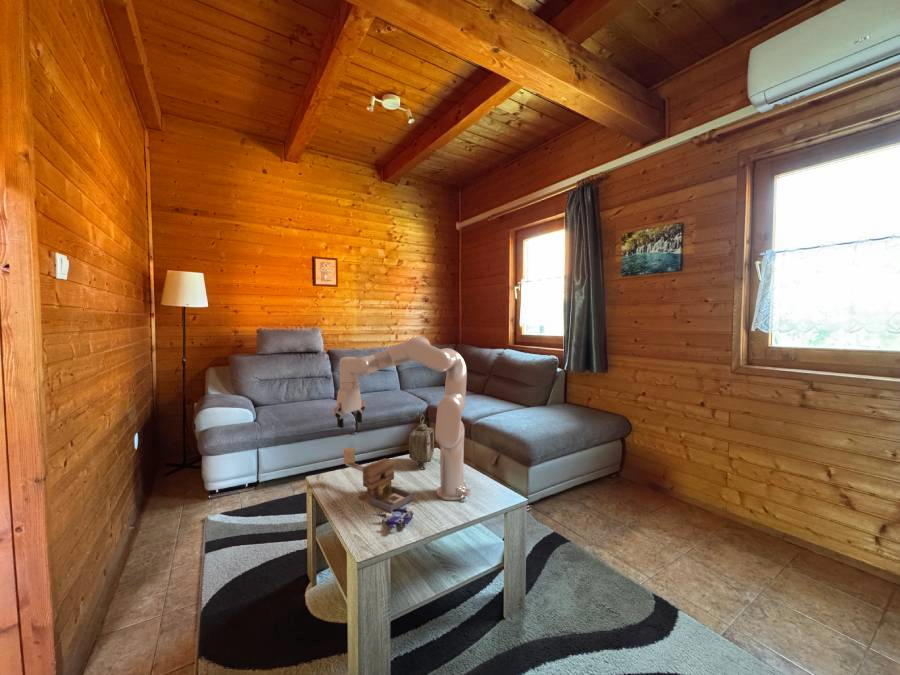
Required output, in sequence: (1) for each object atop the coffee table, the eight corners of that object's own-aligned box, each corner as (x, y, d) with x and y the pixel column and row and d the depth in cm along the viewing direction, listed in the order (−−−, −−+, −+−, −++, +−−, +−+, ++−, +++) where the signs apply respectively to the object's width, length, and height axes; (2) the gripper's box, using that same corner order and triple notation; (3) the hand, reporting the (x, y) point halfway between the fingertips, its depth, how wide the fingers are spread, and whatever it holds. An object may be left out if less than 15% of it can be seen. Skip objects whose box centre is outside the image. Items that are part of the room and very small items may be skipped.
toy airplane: (368, 521, 130) (368, 511, 130) (404, 510, 137) (404, 501, 137) (381, 539, 119) (381, 529, 119) (419, 527, 126) (419, 517, 126)
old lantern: (426, 471, 172) (426, 419, 171) (408, 469, 174) (408, 418, 173) (434, 460, 186) (433, 411, 185) (417, 458, 188) (416, 410, 187)
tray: (413, 500, 144) (413, 494, 144) (390, 513, 135) (390, 506, 135) (392, 492, 152) (392, 486, 151) (369, 503, 142) (369, 497, 142)
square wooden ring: (394, 496, 146) (405, 501, 143) (383, 502, 142) (393, 507, 138) (394, 493, 146) (405, 497, 143) (383, 499, 142) (393, 503, 138)
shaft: (383, 476, 148) (383, 458, 148) (377, 479, 145) (377, 461, 145) (350, 464, 161) (350, 447, 161) (343, 466, 158) (343, 449, 158)
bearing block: (394, 492, 151) (393, 460, 150) (371, 504, 141) (371, 470, 141) (380, 487, 156) (379, 456, 155) (357, 498, 146) (357, 465, 146)
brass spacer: (391, 495, 148) (391, 480, 147) (380, 500, 143) (380, 486, 143) (389, 494, 149) (389, 479, 148) (377, 499, 144) (377, 484, 143)
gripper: (359, 382, 166) (360, 419, 167) (326, 387, 152) (327, 428, 153) (370, 383, 162) (371, 421, 162) (337, 389, 148) (338, 431, 149)
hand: (350, 424), depth 158 cm, fingers open, 9 cm apart
